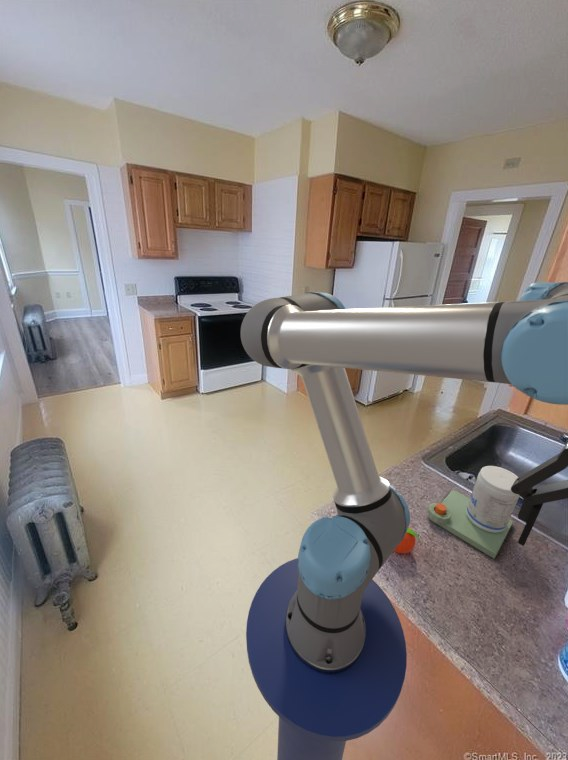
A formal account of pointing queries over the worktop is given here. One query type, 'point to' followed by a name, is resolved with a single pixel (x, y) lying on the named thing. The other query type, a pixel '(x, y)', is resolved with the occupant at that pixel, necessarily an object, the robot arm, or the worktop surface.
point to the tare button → (440, 509)
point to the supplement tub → (492, 499)
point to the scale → (467, 524)
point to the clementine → (407, 542)
